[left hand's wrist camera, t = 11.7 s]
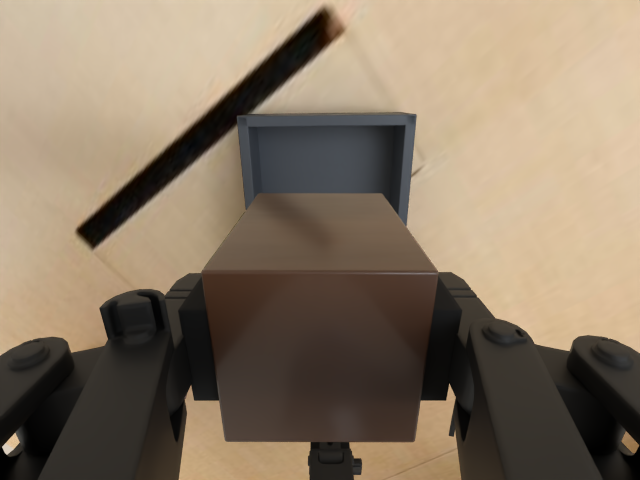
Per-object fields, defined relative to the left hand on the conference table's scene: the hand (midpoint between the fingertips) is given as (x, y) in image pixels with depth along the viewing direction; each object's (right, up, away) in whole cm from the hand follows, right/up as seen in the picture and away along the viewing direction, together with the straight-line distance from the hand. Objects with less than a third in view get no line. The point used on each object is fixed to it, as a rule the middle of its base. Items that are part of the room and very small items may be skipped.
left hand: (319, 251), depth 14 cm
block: (0, 0, 0) cm, 0 cm away
